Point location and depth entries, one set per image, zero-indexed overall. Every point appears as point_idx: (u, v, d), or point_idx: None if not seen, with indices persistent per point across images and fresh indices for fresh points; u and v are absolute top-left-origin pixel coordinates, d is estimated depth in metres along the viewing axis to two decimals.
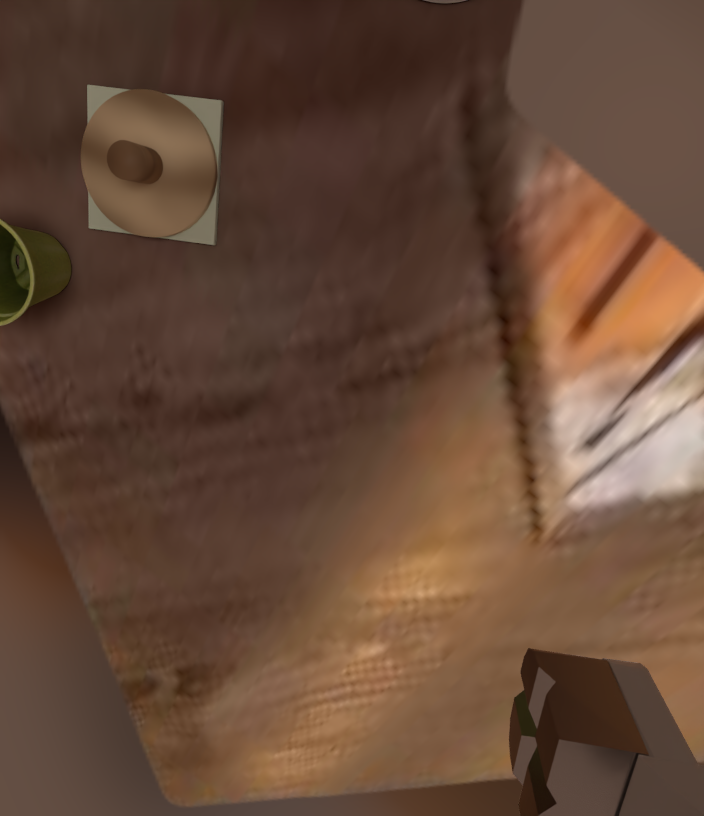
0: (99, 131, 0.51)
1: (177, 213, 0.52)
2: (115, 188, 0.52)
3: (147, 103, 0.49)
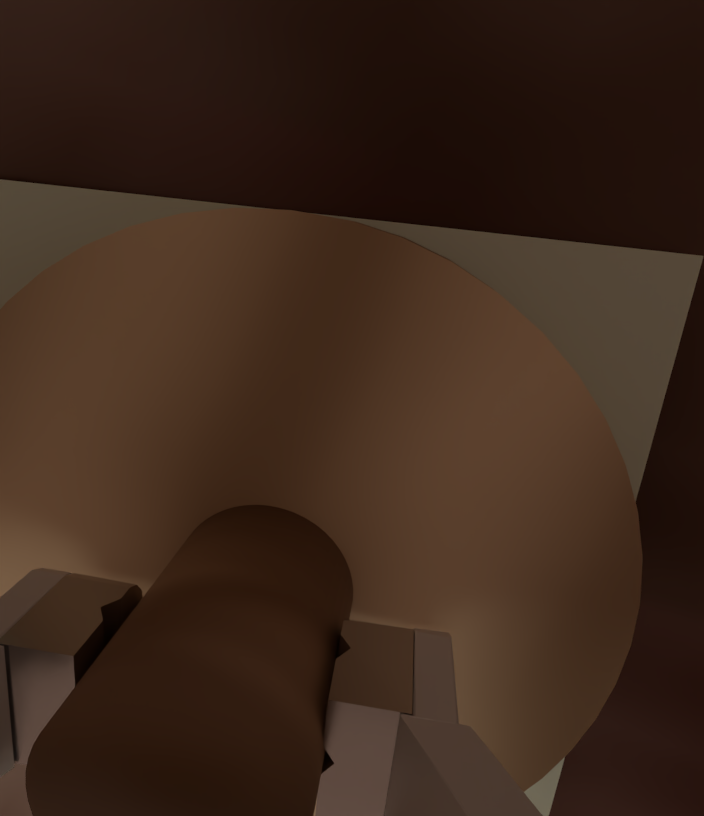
0: (438, 354, 0.08)
1: None
2: (139, 411, 0.09)
3: (562, 636, 0.09)
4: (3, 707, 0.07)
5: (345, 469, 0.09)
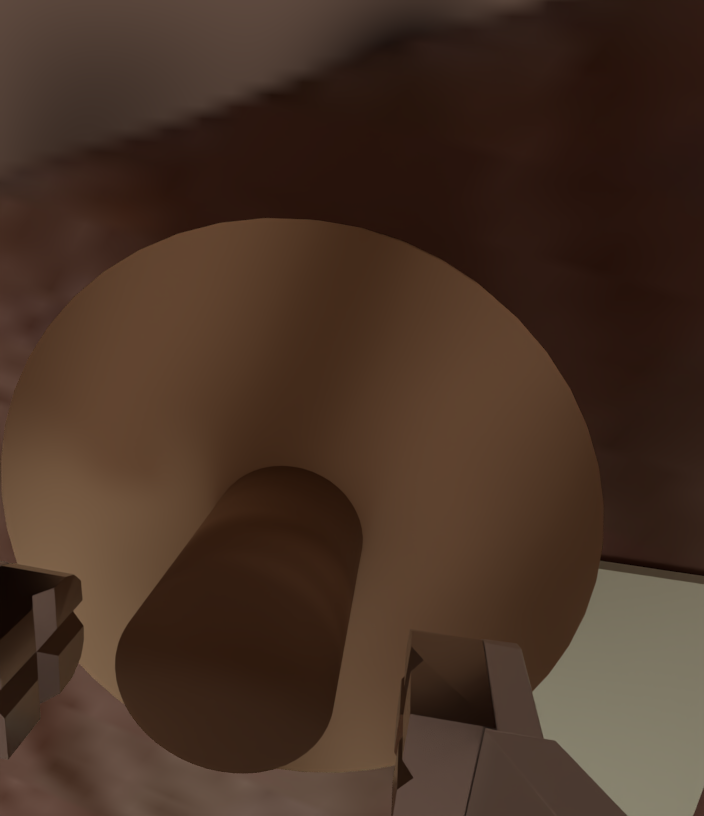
0: (431, 336, 0.10)
1: (115, 631, 0.13)
2: (183, 387, 0.11)
3: (538, 573, 0.11)
4: None
5: (356, 434, 0.11)
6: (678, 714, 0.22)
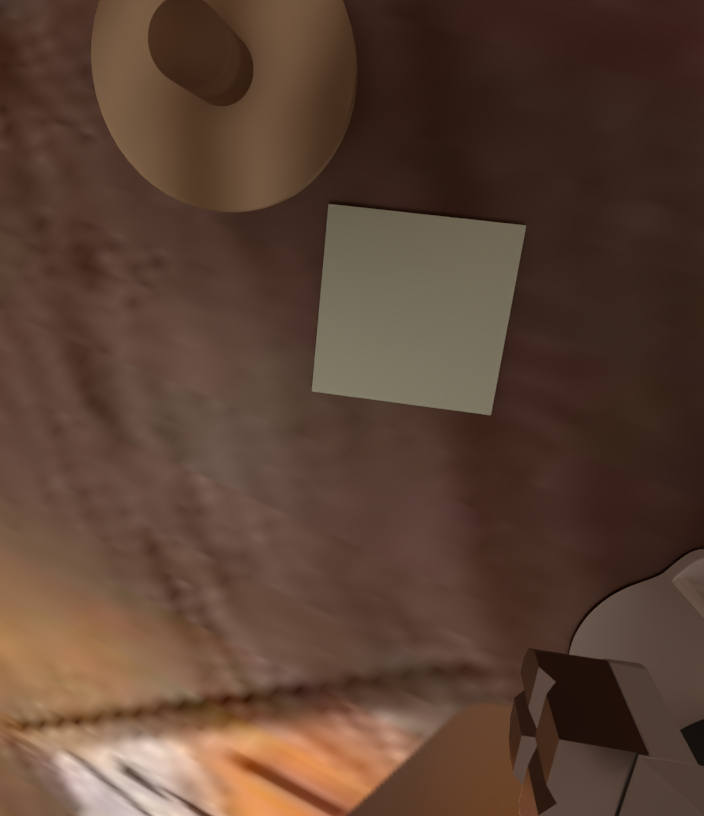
0: None
1: (141, 132, 0.27)
2: None
3: (329, 80, 0.26)
4: None
5: (248, 11, 0.25)
6: (479, 317, 0.37)
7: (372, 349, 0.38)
